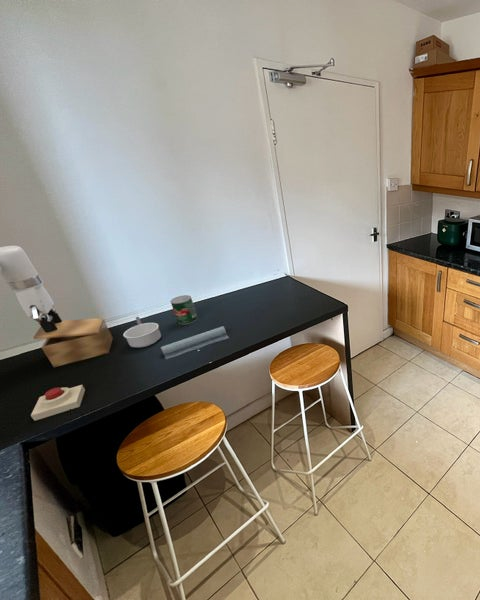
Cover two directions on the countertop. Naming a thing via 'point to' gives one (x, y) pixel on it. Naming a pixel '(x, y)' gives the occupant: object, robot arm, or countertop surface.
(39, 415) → the switch block
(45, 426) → the countertop surface
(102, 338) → the box
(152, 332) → the saucepan
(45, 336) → the lid
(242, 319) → the countertop surface
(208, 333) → the aluminum foil
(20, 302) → the robot arm
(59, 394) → the button
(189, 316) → the canned tomato
